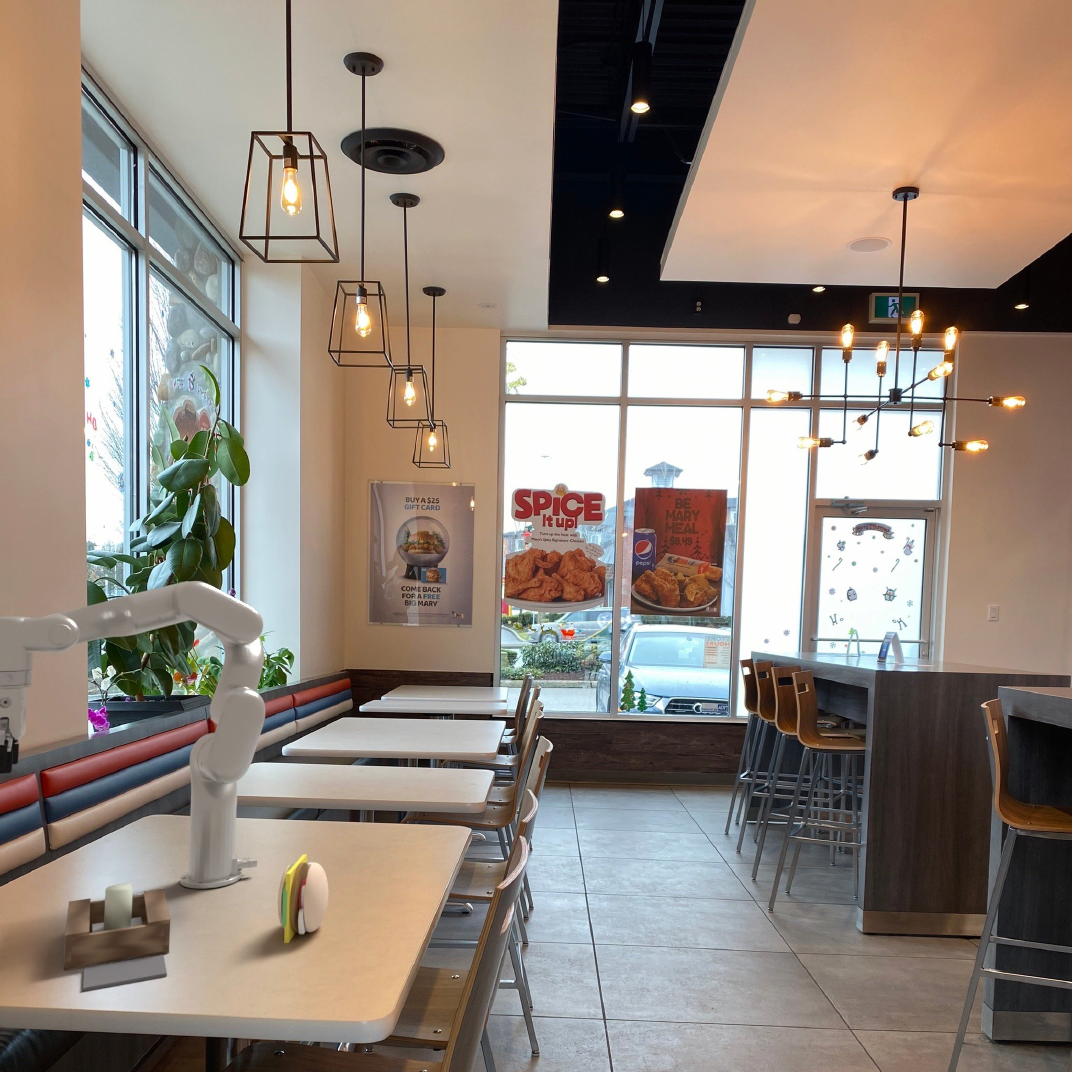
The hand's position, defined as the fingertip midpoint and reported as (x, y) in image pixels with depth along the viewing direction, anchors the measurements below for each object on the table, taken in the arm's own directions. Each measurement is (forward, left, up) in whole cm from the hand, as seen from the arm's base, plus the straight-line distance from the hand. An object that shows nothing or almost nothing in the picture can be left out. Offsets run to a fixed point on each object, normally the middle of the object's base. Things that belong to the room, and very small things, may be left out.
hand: (5, 768), depth 164 cm
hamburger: (-51, +32, -29) cm, 67 cm away
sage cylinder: (-20, +23, -26) cm, 40 cm away
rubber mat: (-21, +38, -28) cm, 52 cm away
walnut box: (-20, +23, -28) cm, 41 cm away
